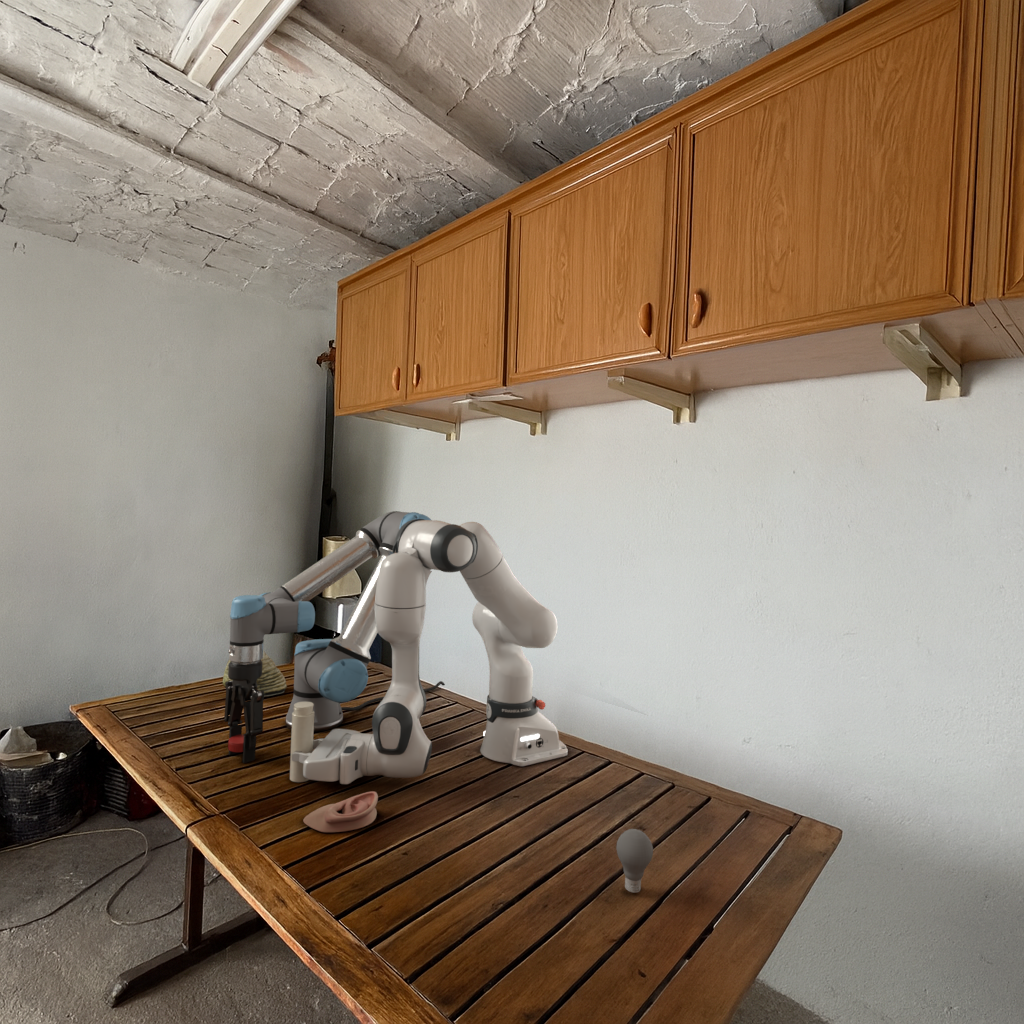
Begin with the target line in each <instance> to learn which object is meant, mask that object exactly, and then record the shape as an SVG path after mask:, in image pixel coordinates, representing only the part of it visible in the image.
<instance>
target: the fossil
mask: <svg viewBox="0 0 1024 1024" xmlns="http://www.w3.org/2000/svg"><path fill="white" fill-rule="evenodd" d="M261 661H262V662H263V664H262V676H261V677H260V678H258V679H257V686H258V690H259V691H264V693H265V695H264V698H265V697H271V696H275V695H281V694H284V693H285V691H286V689H287V687H288V686H287V680H286V678H285V676H284V674H283V673H282V672H281V669H279V668H278V667H277V665H276V663H275V662H274V660H273V659H272V658H271V657H270V656H269V655H268V654H267V653H266V652H265V650H264V649H263V658H262V659H261ZM230 662H231V661H230V660H229V659H228V660H227V663H226V666H225V668H224V671H223V675H222V676H223V677H222V685H223V687H224V688H225V689H226V684H225V683H226V682H227V681H232V680H231V679H229V677H228V665H229V663H230Z"/></svg>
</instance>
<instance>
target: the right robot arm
mask: <svg viewBox="0 0 1024 1024" xmlns="http://www.w3.org/2000/svg"><path fill="white" fill-rule="evenodd" d="M395 552H396V553H395ZM432 570H435V571H440V572H443V573H457V572H460V574H461V576H462V579H463V580H464V581H465V583H466V585H467V587H468V589H469V591H470V592H471V594H472V595H473V597H474V599H475V600H476V601H477V603H476V604H475V606H474V607H473V611H472V616H471V619H472V624H473V627H474V628H475V630H476V631H477V633H478V634H479V635H480V637H481V639H482V642H483V644H484V645H483V646H484V648H485V652H486V655H487V660H488V670H489V672H488V673H489V675H488V676H489V679H488V680H489V681H488V682H489V683H488V694H487V697H486V705H485V714H486V724H485V730H484V731H483V739H482V742H481V746H480V748H479V752H480V754H481V755H482V756H483V757H485V758H486V759H489V760H490V761H491V760H492V761H494V762H499V763H505V764H511V765H514V766H517V767H526V766H530V765H534V764H539V763H542V762H547V761H551V760H555V759H559V758H563V757H567V756H568V754H569V753H568V751H569V750H568V747H567V745H566V744H565V743H564V742H563V741H561V739H560V735H559V730H558V727H556V725H555V724H554V723H553V721H551V720H550V719H549V718H548V717H547V716H545V715H544V714H543V713H541V712H540V711H539V710H545V708H546V702H545V701H544V700H542V699H538V698H537V697H535V696H533V686H534V685H533V682H534V668H533V666H532V663H531V661H530V660H529V659H528V658H527V657H526V654H525V653H524V651H523V648H526V649H544V648H547V647H549V646H550V645H552V643H553V642H554V640H555V638H556V637H557V633H558V629H559V627H558V619H557V616H556V615H555V613H554V611H552V610H550V609H549V608H548V607H546V606H545V605H543V604H542V603H541V602H539V601H538V600H537V599H536V598H535V597H534V596H533V595H532V594H531V593H530V591H528V589H527V588H526V587H525V586H524V585H523V584H522V583H521V582H520V581H519V579H518V578H517V577H516V576H515V574H514V573H513V570H512V569H511V567H510V565H509V564H508V561H507V560H506V558H505V556H504V553H503V552H502V550H501V549H500V547H499V545H498V544H497V542H496V541H495V539H494V538H493V536H492V535H491V534H490V533H489V531H488V530H487V529H486V527H485V526H483V525H482V524H481V523H479V522H477V521H467V522H463V523H461V524H459V525H458V524H454V523H453V524H452V523H449V522H446V521H442V520H435V519H434V520H433V519H431V520H424V519H415V520H411V521H408V522H406V523H405V524H404V525H403V526H402V527H401V528H400V529H399V531H398V533H397V536H396V539H395V544H394V546H393V554H391V555H389V556H387V557H386V558H385V559H384V560H383V561H382V563H381V566H380V570H379V574H378V579H377V585H376V594H375V622H376V628H377V632H378V633H377V634H378V635H379V636H380V637H381V638H382V639H383V640H384V641H386V642H387V643H389V645H390V646H391V682H390V684H389V687H388V689H387V690H386V693H385V694H384V696H383V697H384V698H383V700H381V701H379V704H378V705H377V707H376V708H375V710H374V712H373V714H372V719H371V728H372V733H366V732H365V733H362V732H360V731H358V730H355V729H354V730H353V729H347V728H333V729H331V730H330V732H329V733H328V734H327V735H326V736H325V737H324V738H316V739H313V752H312V753H307V754H305V753H302V751H295V752H294V753H293V754H292V761H297V762H301V763H303V776H304V777H305V778H307V779H309V780H308V781H316V782H329V783H330V782H337V781H339V784H341V785H349V784H352V782H354V781H355V780H357V779H361V778H363V777H373V776H384V777H387V778H394V779H400V778H401V779H408V778H409V779H410V778H418V777H420V776H423V774H424V773H426V771H427V769H428V767H429V762H430V760H431V756H432V751H433V742H432V741H431V739H429V738H428V736H427V735H426V733H425V731H424V729H423V727H422V724H421V721H420V719H421V718H422V716H423V715H424V713H425V711H426V708H427V696H426V692H424V688H423V685H422V682H421V677H420V643H421V638H422V634H423V630H424V624H425V619H426V618H425V617H426V611H427V609H426V608H427V607H426V606H427V589H426V588H427V584H428V580H429V577H430V576H431V574H432Z"/></svg>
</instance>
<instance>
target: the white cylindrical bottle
mask: <svg viewBox="0 0 1024 1024" xmlns="http://www.w3.org/2000/svg"><path fill="white" fill-rule="evenodd" d="M313 706H314V704H313V703H312V702H298V703H295V704H294V712H293V713H292V728H291V729H290V730H291V732H290V756H289V757H290V758H289V780H290V781H291V782H293V783H305V782H308V781H310V780H309V779H307V778H305V777H304V776H303V763H301V762H297V761H292V754H293V753H294V752H295V751H302V753H305V754H307V753H312V752H313V751H314V749H313V740H315V739H314V736H315V735H314V734H315V732H314V713H315V712H314V711H313Z"/></svg>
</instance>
